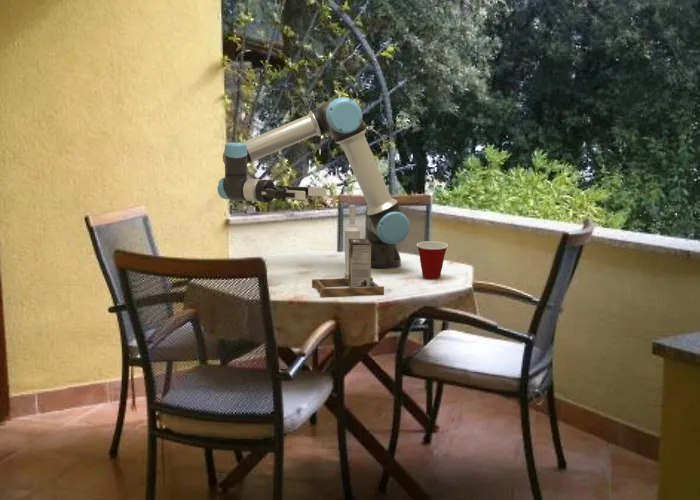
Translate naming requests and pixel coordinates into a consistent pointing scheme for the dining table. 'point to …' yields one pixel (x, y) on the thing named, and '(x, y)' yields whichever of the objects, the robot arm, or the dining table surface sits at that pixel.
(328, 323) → the dining table surface
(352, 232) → the bottle
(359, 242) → the coffee box
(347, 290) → the frame
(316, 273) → the dining table surface
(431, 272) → the plastic cup
